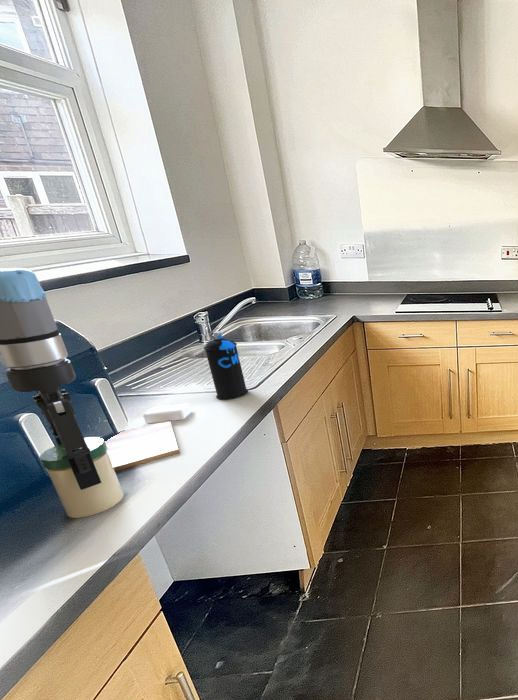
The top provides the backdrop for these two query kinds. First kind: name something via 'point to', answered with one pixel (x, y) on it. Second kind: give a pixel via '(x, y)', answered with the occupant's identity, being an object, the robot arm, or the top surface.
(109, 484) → the jar
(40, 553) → the top surface
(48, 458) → the lid
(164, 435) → the white flat board
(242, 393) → the aerosol can
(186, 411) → the soap
